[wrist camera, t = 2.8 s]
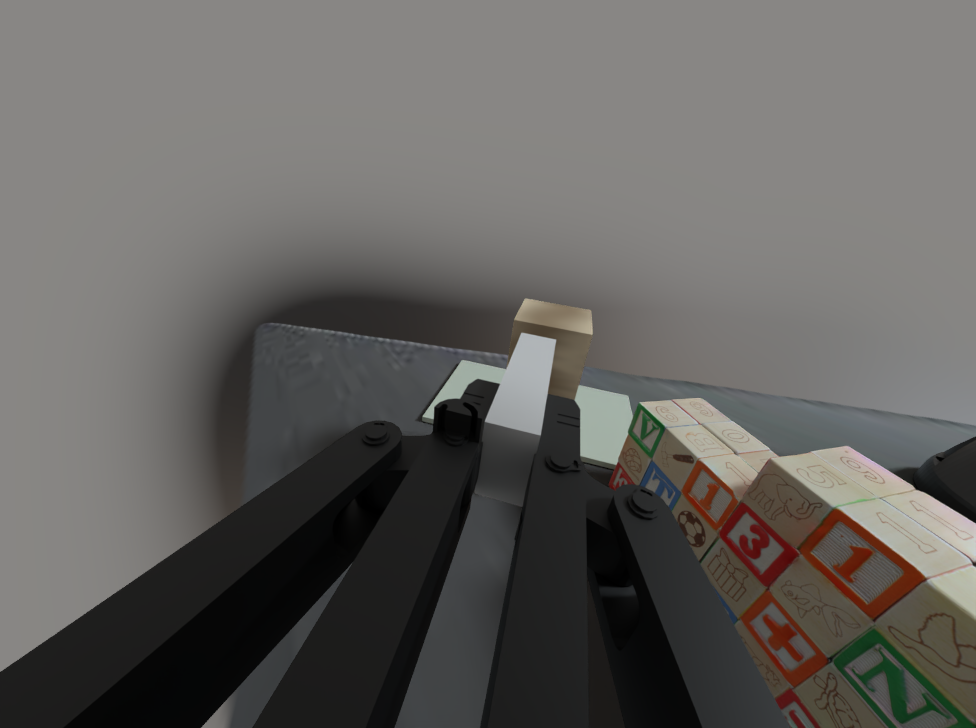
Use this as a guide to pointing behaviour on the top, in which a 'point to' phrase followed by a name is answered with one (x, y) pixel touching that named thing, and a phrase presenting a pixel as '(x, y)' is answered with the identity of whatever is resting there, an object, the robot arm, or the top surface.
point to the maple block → (557, 340)
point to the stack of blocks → (821, 569)
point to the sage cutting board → (599, 410)
